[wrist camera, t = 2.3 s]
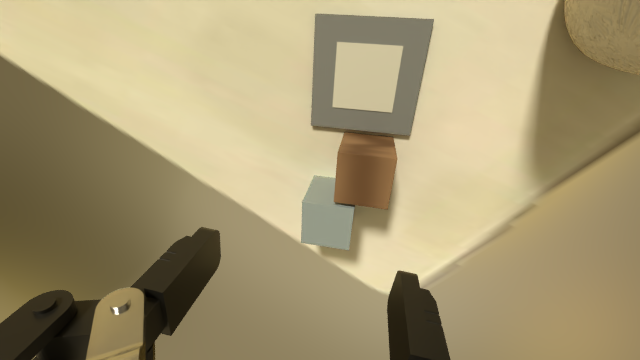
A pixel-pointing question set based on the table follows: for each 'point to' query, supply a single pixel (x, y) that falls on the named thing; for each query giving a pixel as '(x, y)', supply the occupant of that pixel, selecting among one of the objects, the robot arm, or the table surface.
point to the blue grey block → (325, 216)
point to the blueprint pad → (368, 71)
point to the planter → (606, 31)
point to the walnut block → (365, 170)
